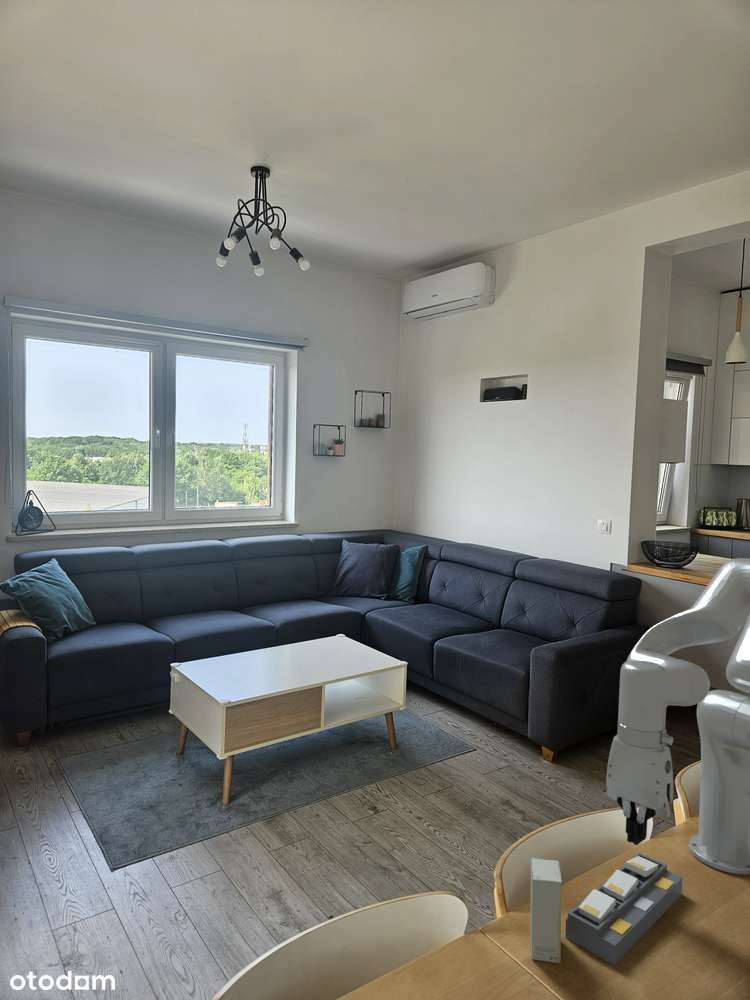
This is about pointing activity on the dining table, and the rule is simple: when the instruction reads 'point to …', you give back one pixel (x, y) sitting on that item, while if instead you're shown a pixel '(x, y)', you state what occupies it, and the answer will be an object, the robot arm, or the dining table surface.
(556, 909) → the skincare box
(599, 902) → the block
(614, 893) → the block
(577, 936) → the switch unit
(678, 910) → the dining table surface
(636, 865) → the plate
